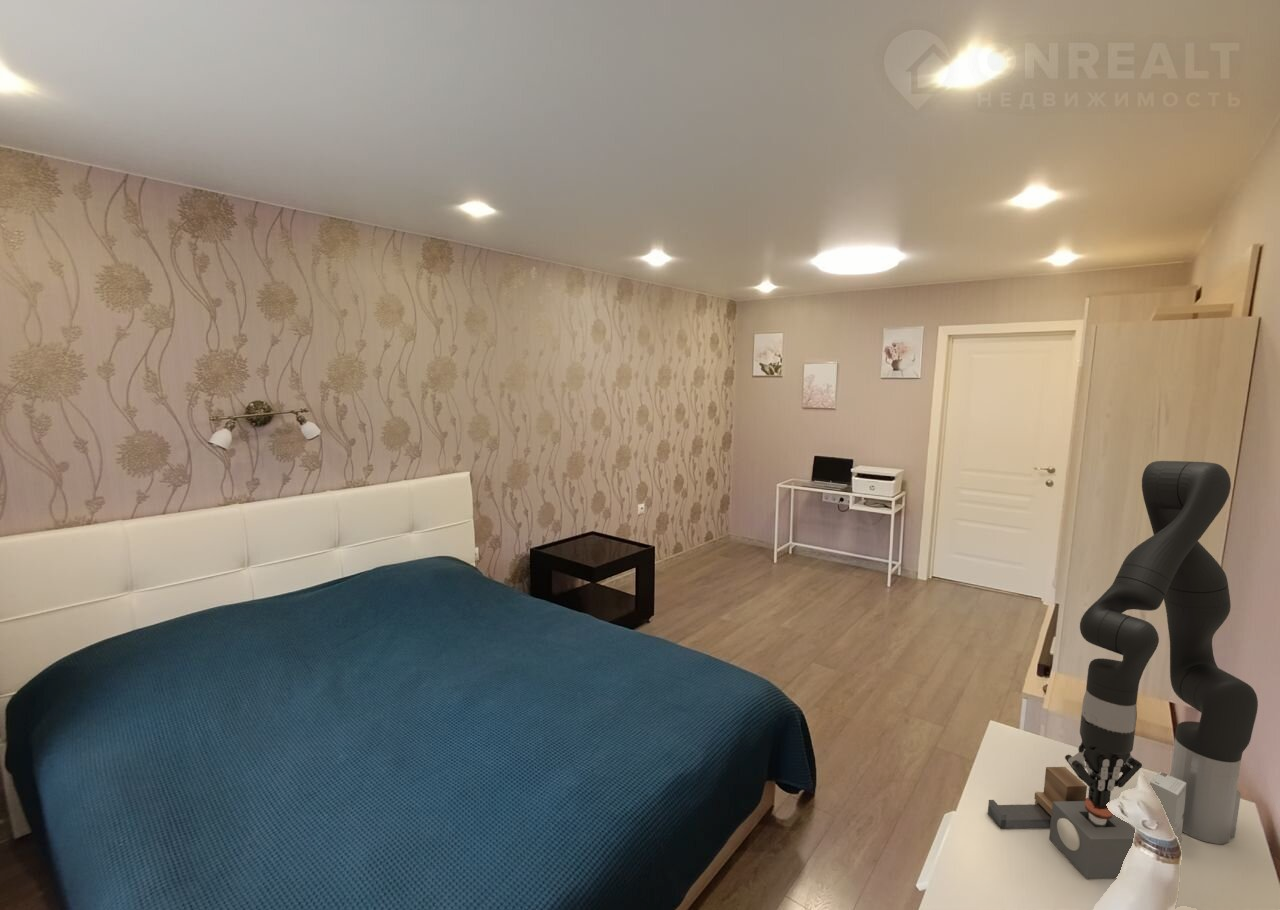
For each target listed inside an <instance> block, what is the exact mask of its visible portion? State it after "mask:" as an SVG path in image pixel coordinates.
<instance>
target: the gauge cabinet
mask: <svg viewBox="0 0 1280 910" xmlns="http://www.w3.org/2000/svg"><path fill="white" fill-rule="evenodd" d="M1088 815H1089V812H1088V811H1087V810H1086V809H1085V801H1058V802H1053V804H1052V814H1051V824H1050V828H1049V835H1048V839H1049V840H1050V841H1051V843H1052V844H1053V845H1054V846H1055V847H1056V848H1057V849H1058V850H1059V852H1060V853H1062V855H1064V857H1065V858H1066V859H1067V860H1068V861H1069V862H1070V863H1071V865H1072V866H1073V867H1074V868H1076V870H1077V871H1078V872H1079V873H1080V874H1081V876H1083V877H1084V879H1086V880H1103V879H1104V880H1116V879H1115V878H1116V877H1117V876H1118V874H1119V873H1120V870H1121V867H1122V864H1123V861H1124V859H1125V857H1126V855H1127V853H1128V851H1129V849H1130V848H1131V846H1132V843H1133V838H1134V833H1135V829H1136V828H1135V827H1134V826H1133V825H1132V824H1130V823H1129V822H1128V821H1127V822H1128V823H1127V822H1125V821H1123V820H1121V819H1120V818H1118V817H1116V816H1115V815H1112V818H1111V819H1107V822H1106V827H1094V826H1093V825H1092V824H1091V823H1090V822H1089V821H1088Z"/></svg>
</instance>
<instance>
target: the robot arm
mask: <svg viewBox="0 0 1280 910" xmlns="http://www.w3.org/2000/svg"><path fill="white" fill-rule="evenodd" d="M1231 487H1232V484H1231V477H1230V475H1229V472H1228V471H1227V469H1226V468H1225V467H1224V466H1223V465H1221V464H1219V463H1215V462H1209V461H1208V462H1206V461H1186V460H1185V461H1181V460H1156V461H1152V462H1150V463H1149V464H1148V465H1147V466H1146V467H1145V468H1144V470H1143V472H1142V477H1141V491H1142V497H1143V501H1144V505H1145V509H1146V512H1147V515H1148V519H1149V523H1150V526H1151V529H1152V534H1153V535H1152V536H1150V537H1149V538H1147V539H1146V540H1144V541H1142V542H1141V543H1140V544H1138V545H1137V546H1135V548H1133V549H1132V550H1131V551H1130V552H1128V555H1126V557H1125V558H1124V561H1123V562H1122V564H1121V565H1120V566H1121V567H1120V568H1119V570H1118V572H1117V574H1116V576H1115V579H1114V581H1113V583H1112V584H1111V585H1110V587H1108V589H1107V590H1105V592H1104V593H1103V594H1102V595H1101V596H1100V597H1099V598H1098V599H1097V600H1096V601H1095V602H1094V603H1093V604H1091V605H1090V607H1089V608H1088V609H1087V610H1086V611H1085V612H1084V613H1083V615H1082V616H1081V619H1080V622H1079V630H1080V634H1081V636H1082V638H1083V639H1084V640H1085V641H1086V642H1087V643H1089V644H1092V645H1093V646H1096V647H1099V648H1102V649H1104V650H1107V651H1110V652H1113V653H1115V654H1118V655H1121V656H1122V660H1116V659H1109V658H1104V657H1103V658H1094V659H1092V660H1091V661H1090V663H1089V665H1088V668H1087V677H1086V686H1085V687H1086V688H1085V691H1084V692H1085V693H1084V695H1083V698H1082V699H1083V700H1082V708H1081V715H1080V717H1081V718H1080V726H1079V734H1080V738H1081V743H1080V745H1079V747H1078V748H1077V749H1078V752H1077V753H1076V754H1074V755H1073V756H1072V755H1071V754H1066V755H1065V757H1064V759H1065V760H1066V762H1067V763H1068V764H1069V766H1070V767H1071V768H1072V770H1073V771H1074V774H1076V775H1077V776H1076V777H1077V778H1078V779H1080V780H1081V781H1082V782H1083V783H1084V784H1085V785H1086V786H1087V787H1088V796H1087V798H1089V800H1090V801H1091V802H1092V803H1093V804H1094V805H1095V806H1096V807H1097V808H1107V806H1106V804H1107V803H1108V802H1109V803H1110V799H1111V795H1112V791H1114V790H1115V787H1117V788H1119V789H1120V788H1123V787H1124V786H1125V785H1126V784H1127V783H1128V782H1129V781H1130V779H1132V778H1133V777H1134V776H1135V774H1136V773H1138V771H1139V770H1140V769H1141V768H1143V764H1142V763H1141V762H1140V761H1139V760H1138V759H1136V758H1135V757H1133V755H1131V753H1132V752H1133V749H1134V742H1135V735H1136V726H1137V718H1138V710H1137V705H1138V704H1137V701H1138V693H1139V685H1140V681H1141V679H1142V676H1143V673H1144V671H1145V669H1146V667H1147V665H1148V664H1149V661H1150V660H1151V658H1152V657H1153V655H1154V653H1155V652H1156V650H1157V648H1158V646H1159V642H1160V641H1159V640H1160V639H1159V633H1158V631H1157V628H1155V626H1154V625H1153V624H1152V623H1150V622H1148V621H1146V620H1145V619H1141V618H1138V617H1135V616H1132V615H1128V614H1125V612H1126V611H1130V610H1131V611H1132V610H1135V611H1138V610H1139V611H1149V612H1150V611H1155V610H1158V609H1159V608H1160V606H1161V605H1162V604H1163V602H1164V606H1165V613H1166V620H1167V629H1168V630H1167V631H1168V636H1169V637H1168V638H1169V679H1170V684H1171V687H1172V688H1171V689H1172V690H1173V692H1174V693H1175V695H1176V696H1177V697H1178V699H1180V700H1181V701H1183V702H1184V703H1185V704H1187V705H1189V706H1190V707H1192V708H1193V709H1195V710H1197V711H1198V712H1200V713H1201V714H1200V719H1199V721H1193V720H1192V721H1191V720H1190V721H1189V720H1187V721H1182V722H1179V723H1178V724H1177V725H1176V729H1175V734H1174V735H1175V736H1174V742H1173V753H1172V757H1171V758H1172V761H1171V768H1170V773H1169V774H1170V775H1169V776H1172V777H1174V778H1177V779H1179V780H1181V781H1184V782H1186V783H1187V784H1186V795H1185V806H1184V816H1183V827H1182V833H1185V834H1187V835H1189V836H1190V837H1191V838H1192V837H1193V838H1195V839H1197V840H1200V841H1203V842H1206V843H1211V844H1216V845H1220V844H1221V845H1224V844H1227V843H1229V841H1230V839H1231V838H1235V837H1236V830H1237V823H1238V817H1239V810H1240V803H1241V797H1242V795H1241V792H1240V791H1239V790H1238V786H1239V778H1240V777H1239V776H1240V771H1241V770H1240V769H1241V765H1242V764H1241V763H1242V757H1243V753H1244V751H1245V750H1246V749H1247V747H1248V746H1249V745H1250V743H1251V739H1252V735H1253V731H1254V725H1255V723H1256V718H1257V714H1258V708H1259V707H1258V706H1259V700H1258V695H1257V692H1256V691H1255V689H1254V688H1253V687H1252V685H1250V684H1248V683H1246V682H1245V681H1244V680H1242V679H1240V678H1238V677H1237V676H1234V675H1233V674H1231V673H1228V672H1227V671H1225V670H1223V669H1222V668H1220V667H1218V665H1217V663H1216V661H1215V660H1216V659H1215V655H1214V650H1213V639H1214V636H1215V634H1216V632H1217V631H1218V630H1219V628H1221V626H1222V625H1223V624H1224V623H1225V621H1226V620H1227V618H1228V616H1229V614H1230V612H1231V595H1230V590H1229V589H1230V588H1229V582H1228V578H1227V574H1226V573H1225V571H1224V569H1223V567H1222V566H1221V565H1220V563H1218V561H1217V560H1216V559H1215V558H1214V556H1213V555H1212V554H1211V553H1210V552H1209V551H1208V550H1207V549H1206V548H1205V547H1204V546H1203V545H1202V544H1201V542H1200V541H1199V540H1200V539H1201V538H1202V537H1203V535H1204V533H1206V531H1207V530H1208V529H1209V527H1210V525H1211V524H1212V523H1213V522H1214V521H1215V519H1216V518H1217V516H1218V515H1219V514H1220V512H1221V511H1222V509H1223V508H1224V506H1225V504H1226V502H1227V500H1228V498H1229V496H1230V493H1231ZM1120 773H1122V774H1121V775H1120Z"/></svg>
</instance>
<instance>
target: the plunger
mask: <svg viewBox="0 0 1280 910" xmlns="http://www.w3.org/2000/svg"><path fill="white" fill-rule="evenodd" d="M1085 809H1086V810H1087V811H1088V812H1089V815H1088V821H1089V822H1090V823H1091V824H1092V825H1093V826H1094V827H1106V822H1107V819H1111V818H1112V815H1113V814H1112V813H1111V812H1110V811H1109V810H1108V808H1097V807H1096V806H1095V805H1094V804H1093V803H1092V802H1091V801H1090V800H1089V798H1088V797H1086V799H1085Z"/></svg>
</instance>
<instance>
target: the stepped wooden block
mask: <svg viewBox="0 0 1280 910" xmlns="http://www.w3.org/2000/svg"><path fill="white" fill-rule="evenodd" d="M1044 773H1045V775H1044V786H1043V791H1035V792H1034V804H1040V805H1041V806H1042V807H1043V808H1044V809H1045V810H1046V811H1047V812H1048V813H1049V814H1050V815H1051V814H1052V804H1053V802H1058V801H1085V799H1086V798H1087V790H1088V785H1087V784H1086V783H1085V782H1084V781H1083V780H1081V779H1080V778H1079V777H1078V776H1076V775H1075V773H1073V772H1072V771H1070V770H1069V769H1068V768H1067V767H1066V766H1046V767H1045V772H1044Z"/></svg>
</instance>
